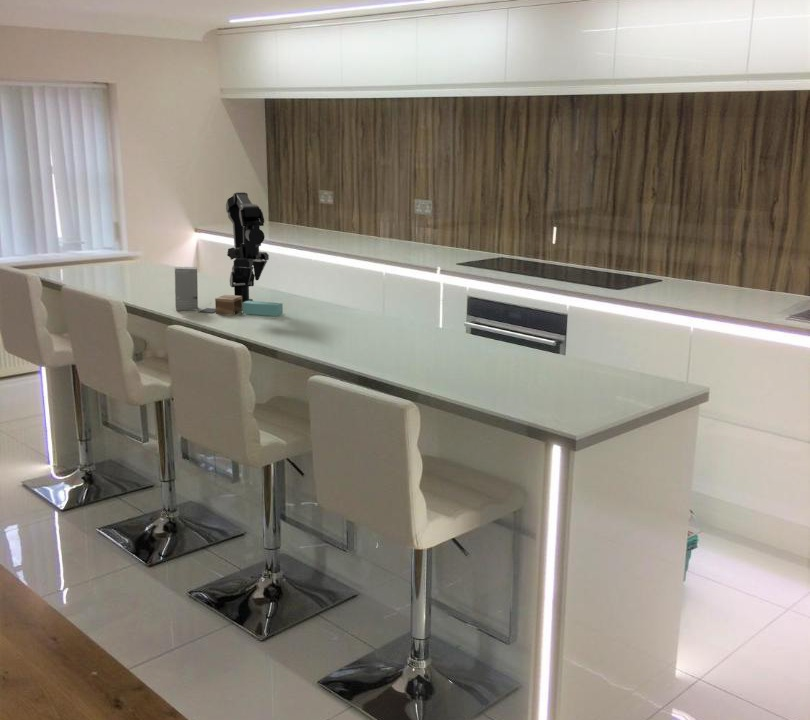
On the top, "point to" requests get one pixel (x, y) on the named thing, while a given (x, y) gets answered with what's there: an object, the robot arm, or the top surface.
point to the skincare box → (186, 288)
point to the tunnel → (228, 304)
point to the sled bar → (262, 308)
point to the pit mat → (208, 310)
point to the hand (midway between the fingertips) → (252, 282)
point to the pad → (262, 316)
